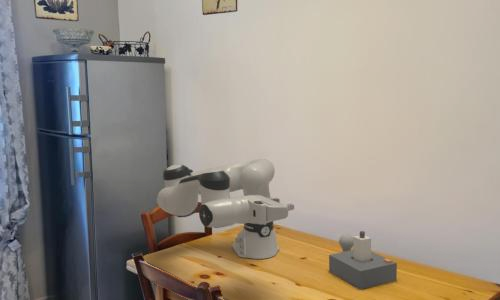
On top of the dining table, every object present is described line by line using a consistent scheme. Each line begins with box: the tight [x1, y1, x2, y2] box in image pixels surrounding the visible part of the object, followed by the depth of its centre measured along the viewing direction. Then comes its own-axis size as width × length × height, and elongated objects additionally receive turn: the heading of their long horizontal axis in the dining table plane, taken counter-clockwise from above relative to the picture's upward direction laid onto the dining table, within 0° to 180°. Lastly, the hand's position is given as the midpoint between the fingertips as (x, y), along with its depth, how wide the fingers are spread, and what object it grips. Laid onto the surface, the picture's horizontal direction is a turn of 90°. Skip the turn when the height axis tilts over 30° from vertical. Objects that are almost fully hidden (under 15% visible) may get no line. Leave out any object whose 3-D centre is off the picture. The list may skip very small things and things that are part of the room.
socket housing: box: [328, 249, 398, 290], centre depth 168 cm, size 18×16×7 cm
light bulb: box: [338, 233, 354, 252], centre depth 186 cm, size 6×6×10 cm
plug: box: [352, 230, 372, 263], centre depth 168 cm, size 4×4×14 cm
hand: (285, 203), depth 158 cm, fingers open, 8 cm apart
